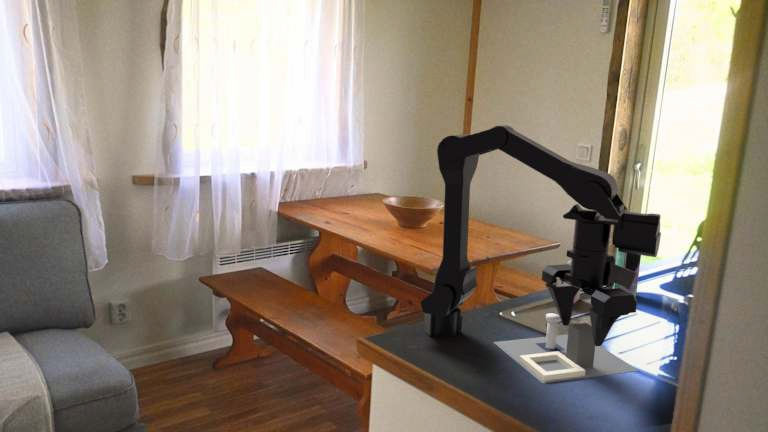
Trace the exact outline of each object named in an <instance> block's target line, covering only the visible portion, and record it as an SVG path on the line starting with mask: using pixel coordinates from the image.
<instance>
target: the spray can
mask: <svg viewBox="0 0 768 432" xmlns="http://www.w3.org/2000/svg"><path fill="white" fill-rule="evenodd" d="M641 258H642V255H637V254H630V253H624V252H619V251H618V248H616V256H615V264H616V265H619V266H621V267H624V268H626V269H629V270H631V271H633V272H636V273H637V274H636V277H635V279H634V281H633V284H632V286H631V288H630V290H629V289H626V288H625V287H624V286H621V285H618V284H615V283H614V286H612V289H616V288H620V289H622V290H624V291H626V292H628V293H631V294H633V295H634V296H635V297H637V292H638V291H637V290H638V284H639V283H638V282H639V273H640V266H641V260H642V259H641Z"/></svg>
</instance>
